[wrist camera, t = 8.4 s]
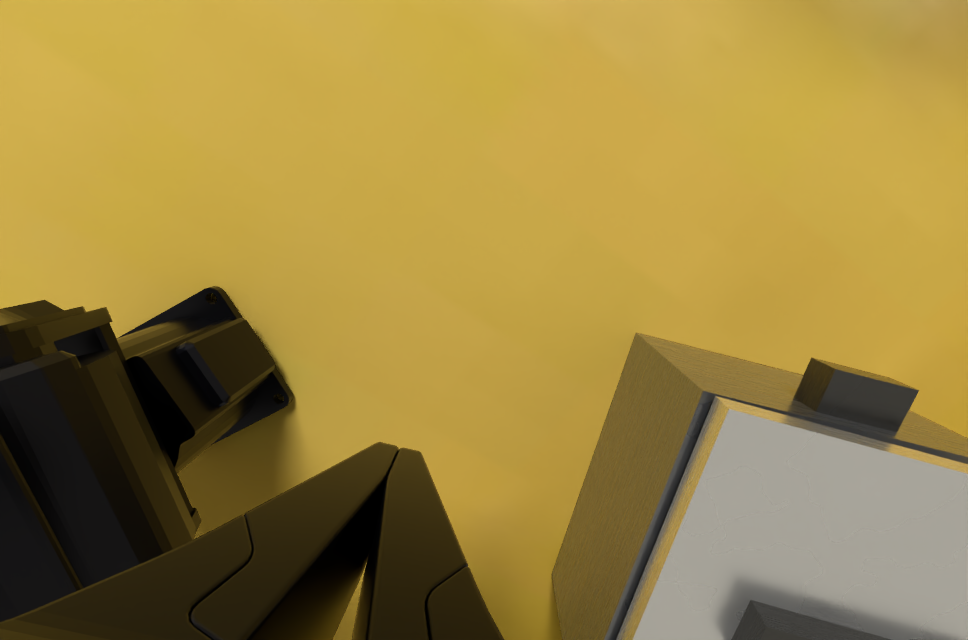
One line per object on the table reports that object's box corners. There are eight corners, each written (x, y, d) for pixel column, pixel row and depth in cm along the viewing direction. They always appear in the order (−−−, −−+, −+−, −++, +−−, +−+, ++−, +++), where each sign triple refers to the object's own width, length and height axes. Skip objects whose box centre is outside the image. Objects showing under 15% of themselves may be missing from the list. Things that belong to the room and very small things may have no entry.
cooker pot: (543, 597, 25) (562, 743, 18) (647, 300, 21) (721, 344, 14) (749, 644, 26) (843, 802, 19) (890, 362, 22) (1073, 434, 15)
